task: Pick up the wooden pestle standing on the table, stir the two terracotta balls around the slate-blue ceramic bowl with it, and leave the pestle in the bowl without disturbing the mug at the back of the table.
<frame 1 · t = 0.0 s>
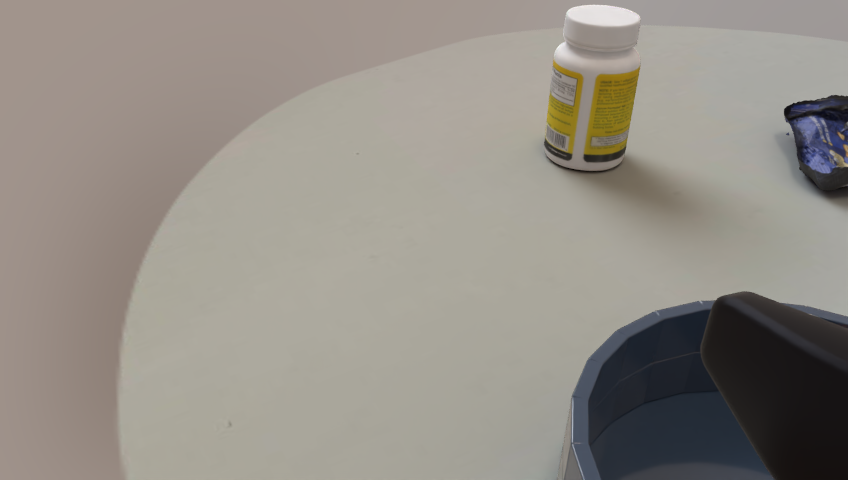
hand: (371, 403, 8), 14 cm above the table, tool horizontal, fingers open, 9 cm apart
supplement bottle: (582, 158, 46), on the table
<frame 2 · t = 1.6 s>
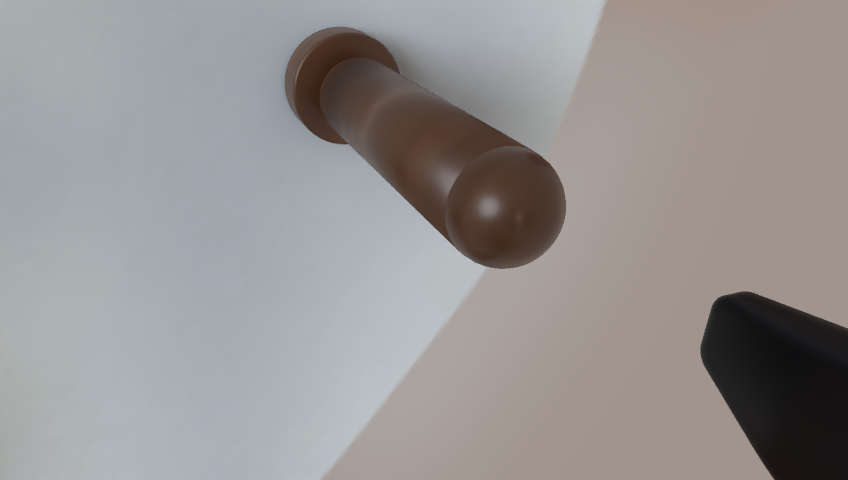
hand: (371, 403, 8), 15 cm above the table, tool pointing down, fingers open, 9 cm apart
wooden pestle: (337, 81, 23), on the table
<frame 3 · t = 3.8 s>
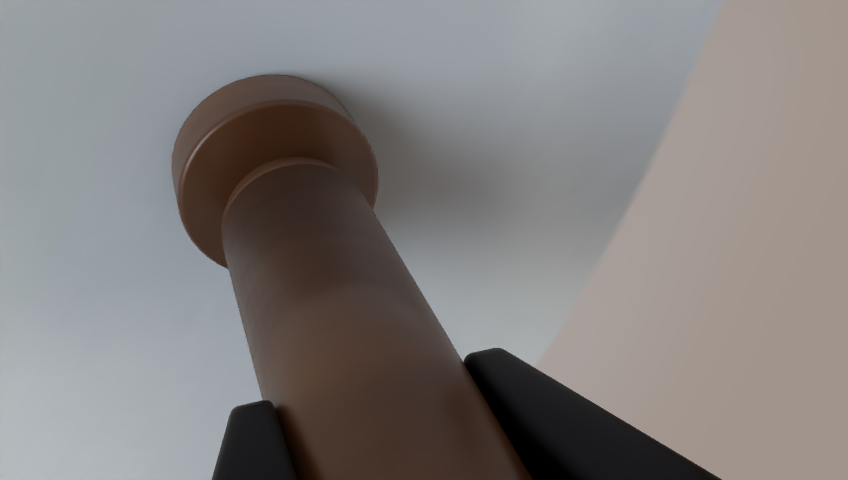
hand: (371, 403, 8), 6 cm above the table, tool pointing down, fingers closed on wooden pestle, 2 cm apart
wooden pestle: (269, 162, 13), on the table, touching gripper
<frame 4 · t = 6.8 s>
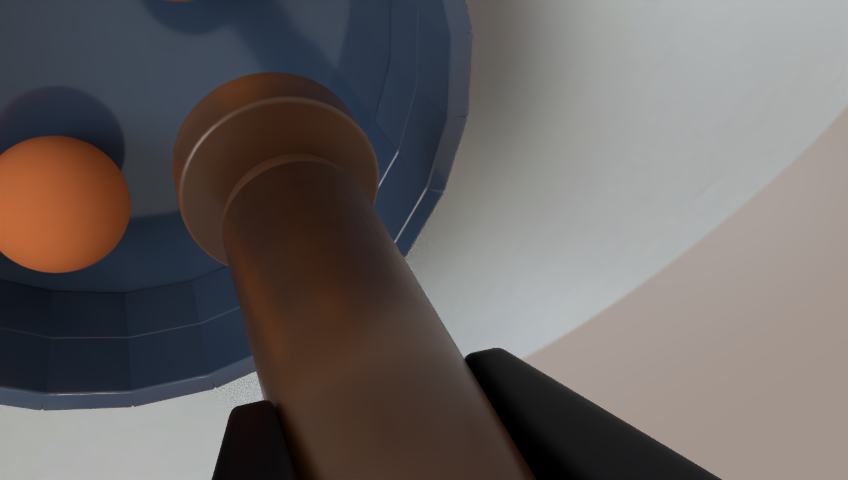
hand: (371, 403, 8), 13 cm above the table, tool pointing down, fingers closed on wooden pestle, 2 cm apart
bowl: (109, 39, 17), on the table
ball a: (57, 204, 17), point 2 cm above the table, touching bowl
wooden pestle: (269, 160, 13), point 7 cm above the table, touching gripper
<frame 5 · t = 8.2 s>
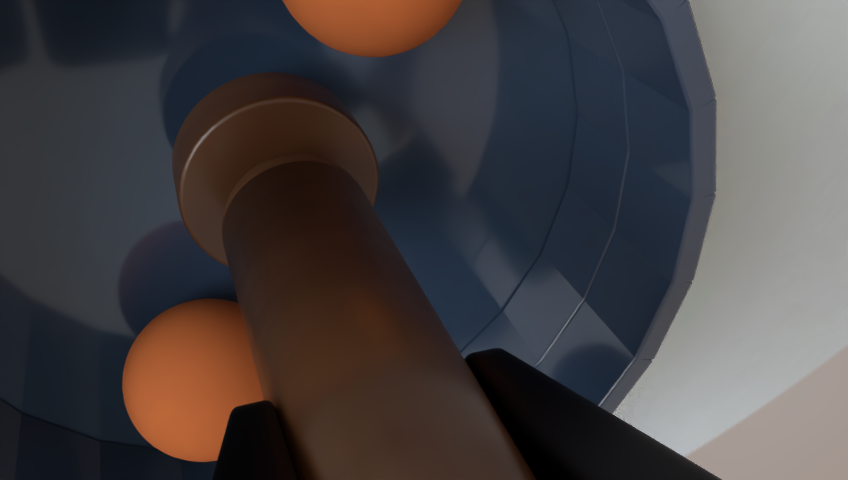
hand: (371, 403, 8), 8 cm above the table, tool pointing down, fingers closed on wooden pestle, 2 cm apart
bowl: (262, 180, 15), on the table
ball a: (208, 378, 14), point 2 cm above the table, touching bowl
wooden pestle: (269, 160, 13), point 2 cm above the table, touching gripper
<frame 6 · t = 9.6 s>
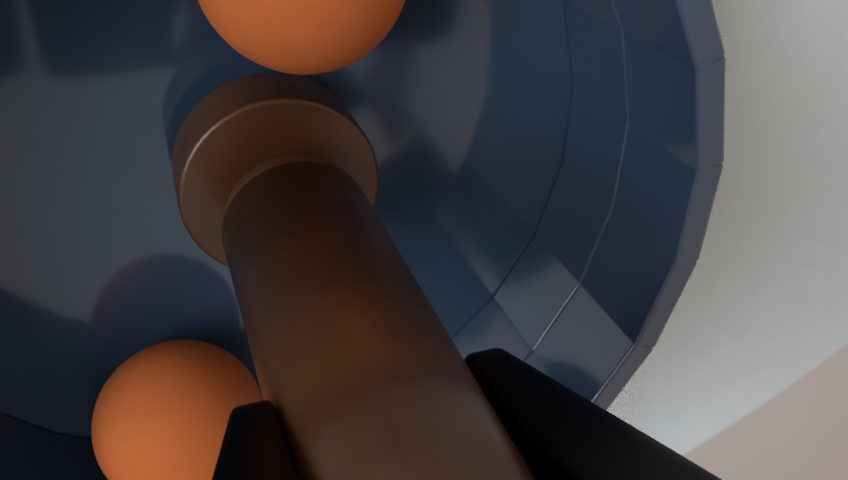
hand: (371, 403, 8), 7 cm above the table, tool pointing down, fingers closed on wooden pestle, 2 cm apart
bowl: (233, 152, 14), on the table
ball a: (180, 422, 14), point 2 cm above the table, tilted 50°, touching bowl
wooden pestle: (269, 160, 13), point 1 cm above the table, touching gripper
when the fingers open (7 cm above the table, at t = 10.0 s): wooden pestle stays where it is, resting on bowl.
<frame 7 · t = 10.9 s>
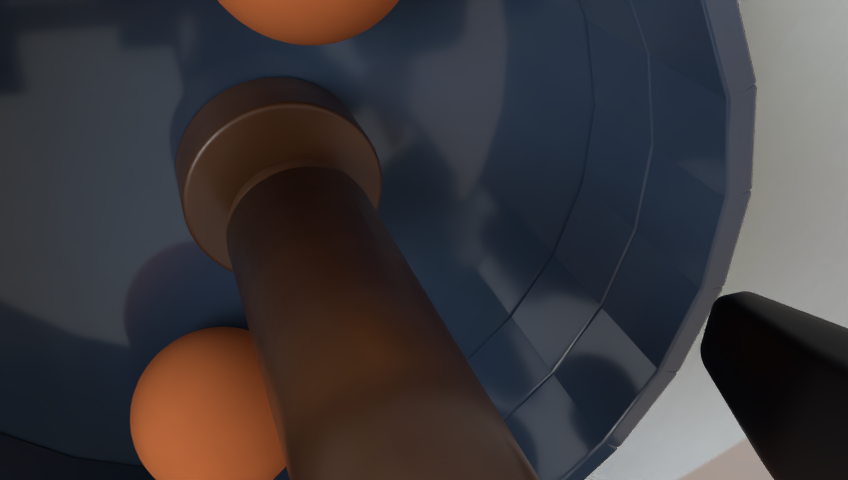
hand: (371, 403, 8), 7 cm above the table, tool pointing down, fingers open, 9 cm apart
bowl: (252, 175, 14), on the table
ball a: (220, 411, 14), point 2 cm above the table, tilted 24°, touching bowl
wooden pestle: (273, 165, 13), point 1 cm above the table, touching bowl
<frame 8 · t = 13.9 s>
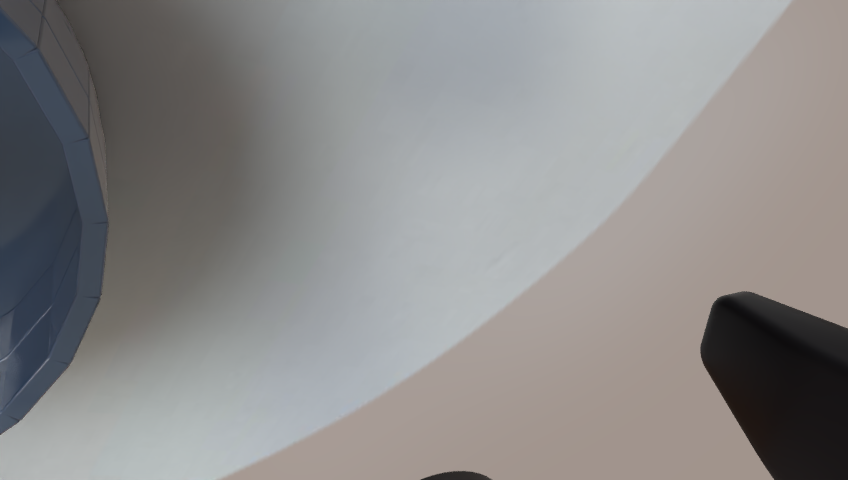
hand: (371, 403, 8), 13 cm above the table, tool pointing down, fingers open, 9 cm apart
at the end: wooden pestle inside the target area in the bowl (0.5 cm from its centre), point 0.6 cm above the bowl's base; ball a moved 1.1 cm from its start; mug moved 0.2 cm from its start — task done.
